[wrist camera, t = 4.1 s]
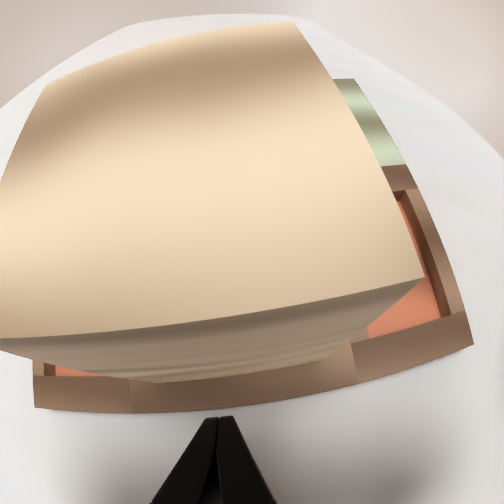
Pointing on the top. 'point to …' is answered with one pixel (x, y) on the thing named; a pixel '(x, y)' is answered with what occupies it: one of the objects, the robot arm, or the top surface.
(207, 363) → the birch block
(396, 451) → the top surface
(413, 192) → the lane board
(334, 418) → the top surface
